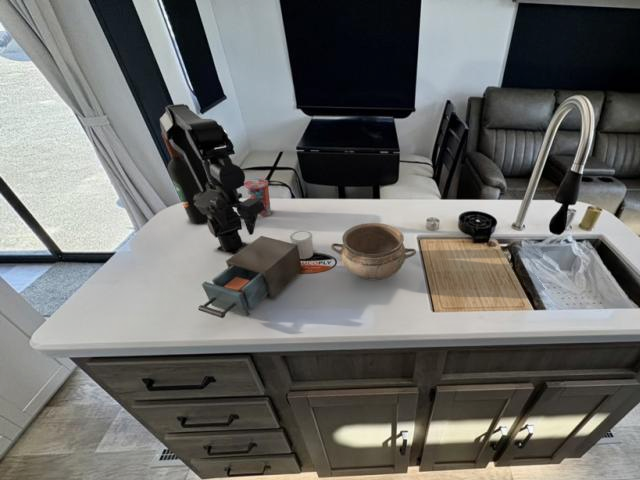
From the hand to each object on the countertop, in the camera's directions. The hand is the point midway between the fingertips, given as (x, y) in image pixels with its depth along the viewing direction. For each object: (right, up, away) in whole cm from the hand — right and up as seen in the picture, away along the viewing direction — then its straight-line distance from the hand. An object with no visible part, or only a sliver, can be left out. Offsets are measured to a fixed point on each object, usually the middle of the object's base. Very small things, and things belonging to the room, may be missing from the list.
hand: (238, 231), depth 93 cm
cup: (-7, +14, +34) cm, 37 cm away
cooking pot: (+38, -11, +8) cm, 41 cm away
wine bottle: (-28, +10, +29) cm, 42 cm away
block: (+4, -19, -6) cm, 20 cm away
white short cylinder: (+15, -5, +14) cm, 21 cm away
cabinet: (+8, -13, +3) cm, 16 cm away
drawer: (+4, -20, -6) cm, 21 cm away
